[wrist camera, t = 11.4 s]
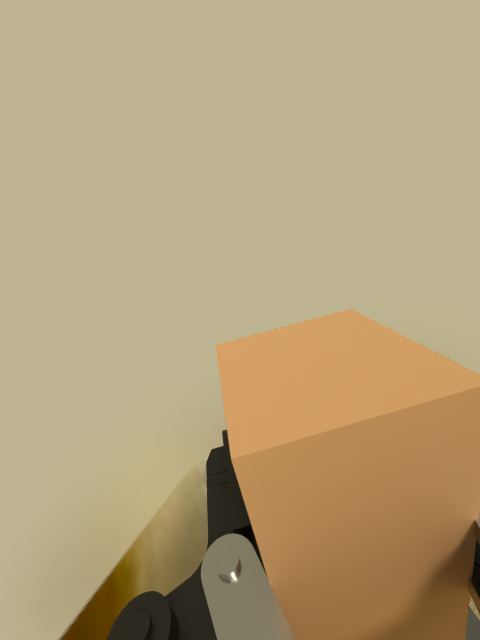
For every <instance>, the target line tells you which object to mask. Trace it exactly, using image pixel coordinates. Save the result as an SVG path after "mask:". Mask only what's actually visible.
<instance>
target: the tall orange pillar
mask: <svg viewBox="0 0 480 640" xmlns="http://www.w3.org/2000/svg"><path fill="white" fill-rule="evenodd" d="M216 351H217V358H218V365H219V373H220V380H221V388H222V396H223V402H224V411H225V418H226V425H227V433H228V440H229V448H230V455H231V461H232V464H233V467H234V470H235V474H236V477H237V480H238V483H239V486H240V490H241V493H242V496H243V499H244V503H245V506H246V509H247V512H248V515H249V519H250V522H251V525H252V528H253V532H254V535H255V538H256V541H257V545H258V548H259V551H260V554H261V557H262V561H263V564H264V567H265V570H266V574H267V577H268V580H269V583H270V586H272V588H273V590H274V592H275V594H276V596H277V598H278V600H279V602H280V605H281V607H282V609H283V611H284V613H285V615H286V617H287V619H288V621H289V623H290V626H291V628H292V630H293V632H294V634H295V636H296V638H297V640H465V637H466V628H467V619H468V610H469V601H470V593H469V591H468V582H469V577H472V574H473V565H474V556H475V547H476V538H475V536H474V525H475V520H476V519H479V511H480V375H479V374H477V373H475V372H473V371H471V370H469V369H467V368H465V367H463V366H461V365H459V364H457V363H455V362H453V361H452V360H450V359H448V358H446V357H444V356H442V355H439V354H438V353H436V352H434V351H432V350H430V349H428V348H426V347H424V346H422V345H420V344H418V343H416V342H414V341H412V340H410V339H408V338H406V337H405V336H403V335H401V334H399V333H397V332H395V331H393V330H391V329H389V328H387V327H385V326H383V325H381V324H379V323H377V322H375V321H373V320H371V319H369V318H367V317H365V316H364V315H362V314H360V313H358V312H355V311H354V310H352V309H349V310H345V311H342V312H338V313H334V314H330V315H327V316H323V317H319V318H315V319H312V320H308V321H304V322H300V323H296V324H293V325H289V326H285V327H281V328H278V329H274V330H270V331H266V332H263V333H259V334H255V335H251V336H248V337H244V338H240V339H236V340H233V341H229V342H225V343H221V344H218V345H216Z"/></svg>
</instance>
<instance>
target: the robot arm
mask: <svg viewBox="0 0 480 640" xmlns="http://www.w3.org/2000/svg"><path fill="white" fill-rule="evenodd" d="M222 435H223V444H224V446H222V447H218V448H215V449H212V450H211V452H210V455H209V457H208V460H207V462H206V469H207V506H208V546H207V551H206V554H205V556H204V559H203V561H202V563H201V564H200V566H199V567H198V569H197V570H196V572H195V573H194V574H193V575H192V576H191V577H190V578H189V579H187V580H186V581H185V582H184V583H182V584H181V585H180V586H178V587H177V588H176V589H174V590H173V591H172V592H170V593H169V594H168V595H166V596H165V597H164V596H163V595H162V594H160V593H158V592H155V591H148V592H145V593H142V594H140V595H138V596H137V597H135V598H134V599H133V600H132V601H130V602H129V603H128V604H127V605H126V607H125V608H124V609H123V610H122V612H121V613H120V614H119V616H118V618H117V619H116V621H115V623H114V625H113V627H112V629H111V631H110V634H109V636H108V639H107V640H297V638H296V636H295V634H294V632H293V630H292V628H291V626H290V623H289V621H288V619H287V617H286V615H285V613H284V611H283V609H282V607H281V605H280V602H279V600H278V598H277V596H276V594H275V592H274V590H273V588H272V586H270V583H269V580H268V577H267V574H266V570H265V567H264V564H263V561H262V557H261V554H260V551H259V548H258V545H257V541H256V538H255V535H254V532H253V528H252V525H251V522H250V519H249V515H248V512H247V509H246V506H245V503H244V499H243V496H242V493H241V490H240V486H239V483H238V480H237V477H236V474H235V470H234V467H233V464H232V461H231V455H230V448H229V440H228V433H227V430H223V431H222ZM474 536H475V538H476V547H475V556H474V565H473V574H472V577H469V582H468V591H469V593H470V595H471V597H472V599H473V601H474V603H475V605H476V607H477V609H478V611H479V613H480V511H479V519H476V520H475V525H474Z"/></svg>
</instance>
